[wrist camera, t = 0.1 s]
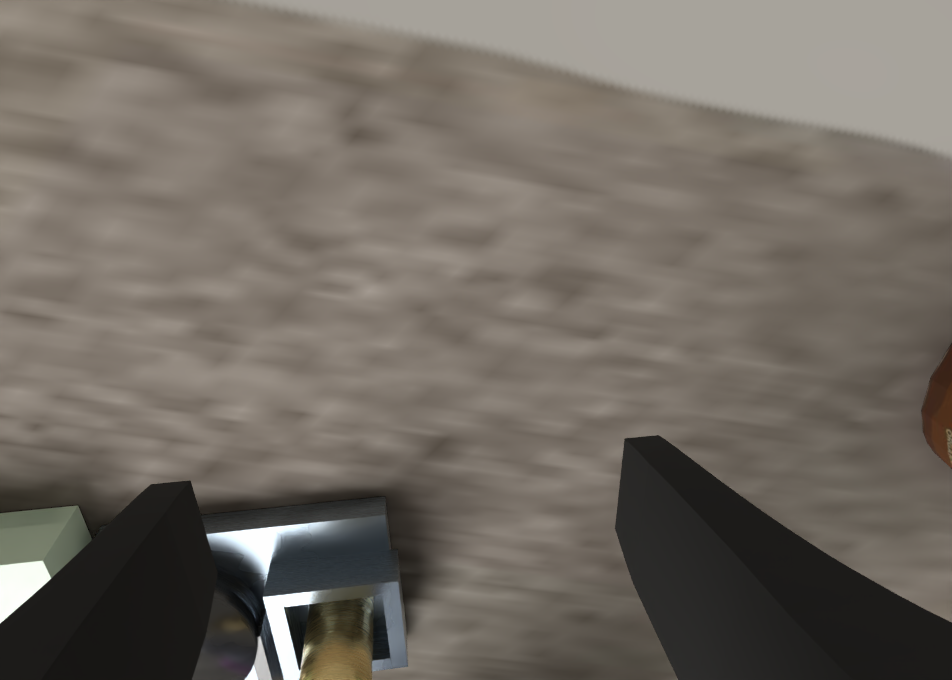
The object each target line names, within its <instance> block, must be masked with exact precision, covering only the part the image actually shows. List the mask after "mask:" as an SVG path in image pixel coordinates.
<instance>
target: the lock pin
mask: <svg viewBox="0 0 952 680" xmlns="http://www.w3.org/2000/svg"><path fill="white" fill-rule="evenodd" d="M373 614H374V597H365V598H357V599H349V600H340V601H332V602H323V603H315V604H309V611H308V618H307V625H306V633H305V640H304V648H303V655H302V663H301V670H300V678H299V680H372V657H373Z"/></svg>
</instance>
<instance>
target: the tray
mask: <svg viewBox="0 0 952 680" xmlns="http://www.w3.org/2000/svg"><path fill="white" fill-rule="evenodd" d="M90 541H92V538H91V535H90V533H89V531H88V528H87V526H86V523H85V521H84V519H83V516H82V514H81V511H80V509H79V507H78V505H77V506H67V507H57V508H47V509H37V510H27V511H17V512H7V513H0V623H1V622H2V621H4V620H5V619H6V618H7V617H8V616H9V615H10V614H12V613H13V612H14V611H15V610H16V609H17V608H18V607H20V606H21V605H22V604H23V603H24V602H25V601H27V600H28V599H29V598H30V597H31V596H32V595H33V594H35V593H36V592H37V591H38V590H39V589H40V588H41V587H42V586H44V585H45V584H46V583H47V582H48V581H49V580H50V579H51V578H52V577H53V576H54V575H55V574H56V573H57V572H59V571H60V570H61V569H62V568H63V567H64V566H65V565H66V564H67V563H68V562H69V561H70V560H71V559H72V558H73V557H75V556H76V555H77V554H78V553H79V552H80V551H81V550H82V549H83V548H84V547H85V546H86V545H87V544H88V543H89V542H90Z"/></svg>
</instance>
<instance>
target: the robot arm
mask: <svg viewBox="0 0 952 680" xmlns="http://www.w3.org/2000/svg"><path fill="white" fill-rule="evenodd" d="M615 529H616V532H617V536H618V539H619V542H620V545H621V548H622V551H623V555H624V558H625V561H626V564H627V567H628V570H629V572H630V575H631V578H632V581H633V584H634V586H635V588H636V590H637V593H638V595H639V597H640V599H641V601H642V603H643V606H644V608H645V610H646V612H647V614H648V616H649V618H650V621H651V623H652V625H653V627H654V629H655V631H656V633H657V635H658V638H659V640H660V642H661V644H662V646H663V648H664V650H665V652H666V654H667V656H668V659H669V661H670V663H671V665H672V667H673V669H674V671H675V673H676V675H677V678H678V680H952V623H951V622H949V621H947V620H945V619H943V618H941V617H939V616H937V615H935V614H933V613H931V612H929V611H927V610H925V609H923V608H921V607H919V606H918V605H916V604H914V603H912V602H910V601H908V600H906V599H904V598H902V597H900V596H899V595H897V594H895V593H893V592H891V591H890V590H888V589H886V588H884V587H883V586H881V585H879V584H877V583H875V582H874V581H872V580H870V579H868V578H867V577H865V576H863V575H861V574H860V573H858V572H856V571H854V570H852V569H851V568H849V567H847V566H846V565H844V564H842V563H841V562H839V561H837V560H836V559H834V558H832V557H831V556H829V555H828V554H826V553H824V552H823V551H821V550H820V549H818V548H817V547H815V546H813V545H812V544H810V543H809V542H807V541H806V540H804V539H803V538H801V537H800V536H798V535H797V534H795V533H793V532H792V531H790V530H789V529H787V528H786V527H784V526H783V525H781V524H780V523H778V522H777V521H776V520H774V519H773V518H771V517H770V516H768V515H767V514H765V513H764V512H762V511H761V510H760V509H758V508H757V507H755V506H754V505H753V504H751V503H750V502H748V501H747V500H746V499H744V498H743V497H741V496H740V495H739V494H737V493H736V492H735V491H733V490H732V489H731V488H729V487H728V486H726V485H725V484H724V483H722V482H721V481H720V480H718V479H717V478H716V477H714V476H713V475H712V474H710V473H709V472H708V471H706V470H705V469H704V468H702V467H701V466H700V465H698V464H697V463H696V462H695V461H693V460H692V459H691V458H689V457H688V456H687V455H685V454H684V453H683V452H681V451H680V450H679V449H677V448H676V447H675V446H673V445H672V444H670V443H669V442H668V441H666V440H665V439H663V438H662V437H661V436H659V435H657V436H647V437H637V438H626V439H625V441H624V451H623V460H622V469H621V479H620V488H619V497H618V507H617V516H616V525H615ZM217 574H218V572H217V569H216V565H215V562H214V558H213V555H212V552H211V548H210V545H209V542H208V538H207V535H206V531H205V528H204V525H203V521H202V518H201V515H200V511H199V508H198V504H197V501H196V498H195V494H194V491H193V488H192V484H191V481H181V482H171V483H161V484H151V485H150V486H149V487H148V488H146V489H145V490H144V491H143V492H142V493H141V494H140V495H139V496H138V497H136V498H135V499H134V500H133V501H132V502H131V503H130V504H129V505H128V506H127V507H126V508H125V509H124V510H123V511H122V512H121V513H120V514H119V515H117V516H116V517H115V518H114V519H113V520H112V521H111V522H110V523H109V524H108V525H107V526H106V527H105V528H104V529H103V530H102V531H101V532H100V533H99V534H98V535H97V536H96V537H95V538H94V539H93V540H92V541H90V542H89V543H88V544H87V545H86V546H85V547H84V548H83V549H82V550H81V551H80V552H79V553H78V554H77V555H76V556H75V557H73V558H72V559H71V560H70V561H69V562H68V563H67V564H66V565H65V566H64V567H63V568H62V569H61V570H60V571H59V572H57V573H56V574H55V575H54V576H53V577H52V578H51V579H50V580H49V581H48V582H47V583H46V584H45V585H44V586H42V587H41V588H40V589H39V590H38V591H37V592H36V593H35V594H33V595H32V596H31V597H30V598H29V599H28V600H27V601H25V602H24V603H23V604H22V605H21V606H20V607H18V608H17V609H16V610H15V611H14V612H13V613H12V614H10V615H9V616H8V617H7V618H6V619H5V620H4V621H2V622H1V623H0V680H192V678H193V675H194V671H195V668H196V665H197V662H198V659H199V656H200V653H201V649H202V646H203V643H204V640H205V636H206V632H207V627H208V622H209V618H210V613H211V608H212V602H213V597H214V591H215V585H216V580H217Z"/></svg>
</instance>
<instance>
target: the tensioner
mask: <svg viewBox="0 0 952 680" xmlns="http://www.w3.org/2000/svg"><path fill="white" fill-rule="evenodd" d="M201 518H202V521H203V525H204V528H205V531H206V535H207V538H208V542H209V545H210V548H211V552H212V555H213V558H214V562H215V565H216V569H217V572H218V574H217V580H216V585H215V591H214V597H213V602H212V608H211V613H210V618H209V622H208V627H207V632H206V636H205V640H204V643H203V646H202V649H201V653H200V656H199V659H198V662H197V665H196V668H195V671H194V675H193V678H192V680H283V677H284V680H299V678H300V670H301V663H302V655H303V648H304V640H305V633H306V625H307V618H308V611H309V604H315V603H323V602H332V601H340V600H349V599H357V598H365V597H374V614H373V657H372V671H378V670H385V669H393V668H401V667H408V655H407V630H406V621H405V612H404V603H403V594H402V585H401V576H400V567H399V558H398V549H394V550H392V549H391V541H390V532H389V524H388V515H387V506H386V498H385V496H383V497H373V498H364V499H354V500H344V501H335V502H325V503H315V504H305V505H296V506H286V507H276V508H267V509H257V510H247V511H238V512H228V513H218V514H209V515H201ZM106 526H107V525H102V526H101V528H100V530H99V531H98V533H97V535H98V534H99V533H100V532H101V531H102V530H103V529H104V528H105V527H106ZM97 535H96V536H97Z"/></svg>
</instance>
